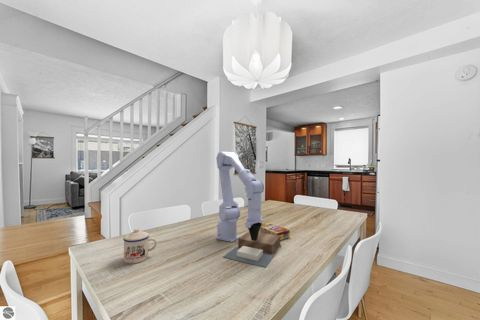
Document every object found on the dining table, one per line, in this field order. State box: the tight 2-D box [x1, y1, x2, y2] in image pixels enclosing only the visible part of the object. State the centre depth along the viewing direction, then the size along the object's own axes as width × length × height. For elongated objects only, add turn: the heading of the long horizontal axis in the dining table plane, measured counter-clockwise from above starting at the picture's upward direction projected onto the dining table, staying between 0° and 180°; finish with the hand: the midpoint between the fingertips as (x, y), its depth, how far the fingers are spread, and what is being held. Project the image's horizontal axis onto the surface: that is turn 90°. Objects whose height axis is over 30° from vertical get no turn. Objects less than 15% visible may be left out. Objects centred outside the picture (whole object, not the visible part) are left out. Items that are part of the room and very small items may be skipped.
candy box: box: [259, 222, 291, 241], centre depth 109 cm, size 9×4×15 cm
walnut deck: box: [237, 230, 281, 255], centre depth 94 cm, size 16×12×4 cm
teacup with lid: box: [123, 228, 158, 265], centre depth 81 cm, size 12×9×12 cm
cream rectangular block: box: [237, 246, 263, 261], centre depth 83 cm, size 9×6×2 cm, turn 63°
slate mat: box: [222, 246, 275, 268], centre depth 83 cm, size 18×11×1 cm, turn 64°
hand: (254, 240), depth 88 cm, fingers closed
